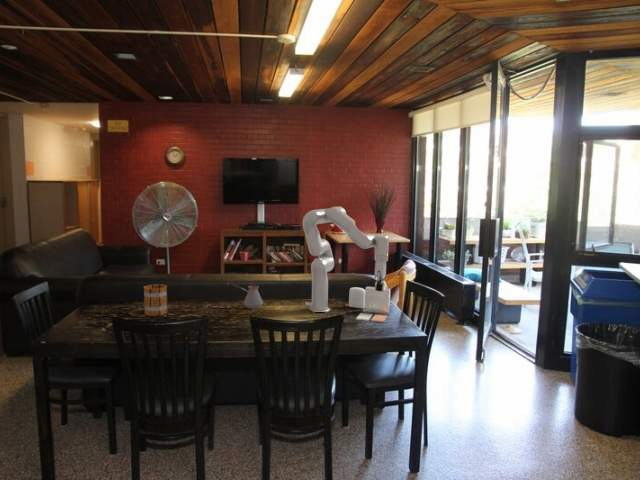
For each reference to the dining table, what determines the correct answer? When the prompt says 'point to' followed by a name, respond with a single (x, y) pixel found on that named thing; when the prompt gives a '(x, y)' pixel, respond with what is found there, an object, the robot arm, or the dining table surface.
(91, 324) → the dining table surface
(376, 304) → the wall unit
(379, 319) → the terracotta pad
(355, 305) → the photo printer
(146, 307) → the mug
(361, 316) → the sage pad
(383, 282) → the birch block
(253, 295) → the coffee pot
